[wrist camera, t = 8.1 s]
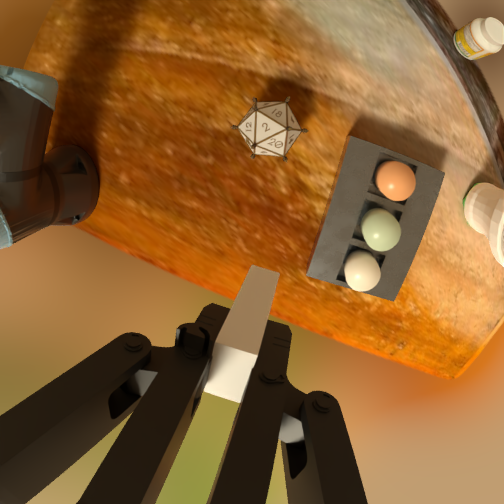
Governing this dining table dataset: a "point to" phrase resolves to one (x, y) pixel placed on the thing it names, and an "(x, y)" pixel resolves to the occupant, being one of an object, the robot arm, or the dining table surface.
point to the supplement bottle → (479, 38)
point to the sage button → (380, 229)
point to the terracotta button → (395, 180)
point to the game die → (270, 128)
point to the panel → (358, 204)
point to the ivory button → (361, 270)
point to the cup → (487, 215)
